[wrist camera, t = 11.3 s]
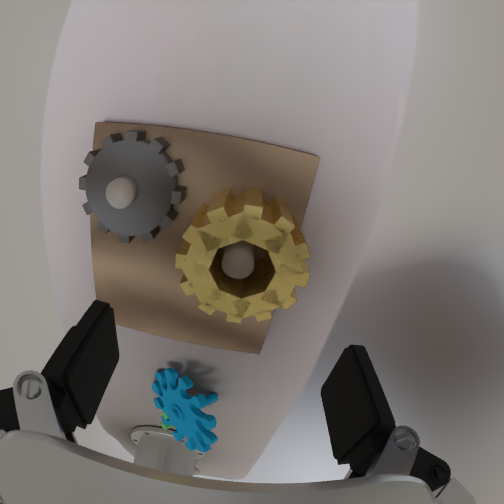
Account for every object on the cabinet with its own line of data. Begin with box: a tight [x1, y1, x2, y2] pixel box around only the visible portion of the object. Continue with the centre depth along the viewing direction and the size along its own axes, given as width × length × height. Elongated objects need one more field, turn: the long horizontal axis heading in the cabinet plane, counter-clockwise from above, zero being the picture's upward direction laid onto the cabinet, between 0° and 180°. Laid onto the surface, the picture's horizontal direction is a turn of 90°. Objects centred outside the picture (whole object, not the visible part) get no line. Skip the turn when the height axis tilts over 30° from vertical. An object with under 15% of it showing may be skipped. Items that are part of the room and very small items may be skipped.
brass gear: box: [175, 186, 310, 323], centre depth 17 cm, size 7×7×4 cm
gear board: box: [79, 122, 320, 354], centre depth 18 cm, size 17×15×5 cm
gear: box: [152, 367, 218, 452], centre depth 26 cm, size 11×6×10 cm
